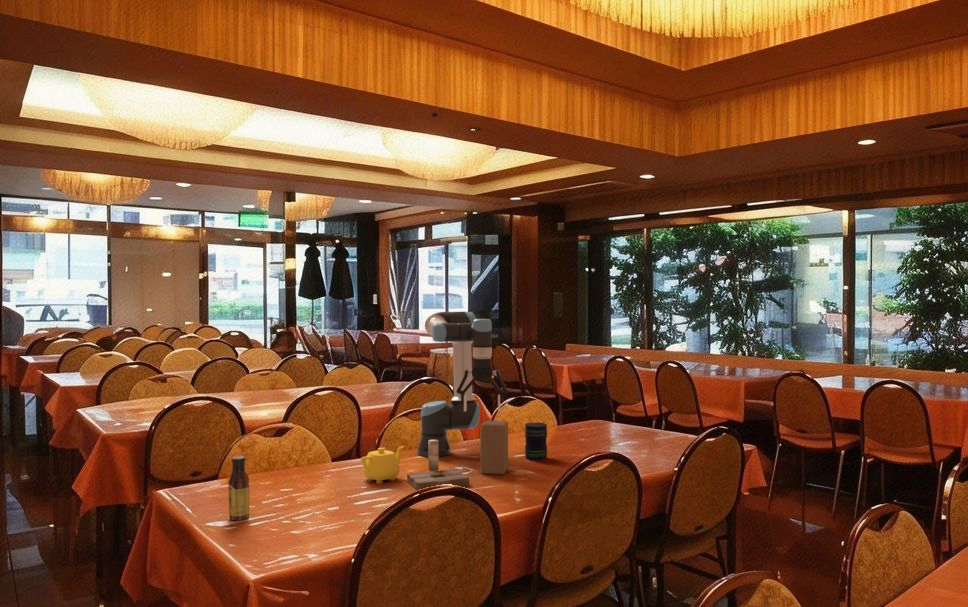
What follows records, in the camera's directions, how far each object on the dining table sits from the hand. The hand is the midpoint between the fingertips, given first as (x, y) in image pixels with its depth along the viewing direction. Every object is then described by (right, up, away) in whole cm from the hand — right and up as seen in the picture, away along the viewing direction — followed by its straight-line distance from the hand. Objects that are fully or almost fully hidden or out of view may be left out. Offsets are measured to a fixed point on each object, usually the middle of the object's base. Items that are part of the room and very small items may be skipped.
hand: (482, 411), depth 274 cm
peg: (-19, -26, +1) cm, 32 cm away
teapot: (-39, -26, -5) cm, 47 cm away
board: (-17, -26, -11) cm, 33 cm away
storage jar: (+24, -26, +31) cm, 46 cm away
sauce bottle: (-78, -27, -52) cm, 98 cm away
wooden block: (+5, -26, +7) cm, 27 cm away
